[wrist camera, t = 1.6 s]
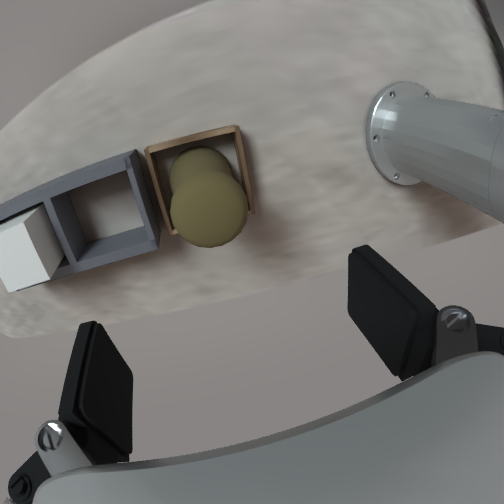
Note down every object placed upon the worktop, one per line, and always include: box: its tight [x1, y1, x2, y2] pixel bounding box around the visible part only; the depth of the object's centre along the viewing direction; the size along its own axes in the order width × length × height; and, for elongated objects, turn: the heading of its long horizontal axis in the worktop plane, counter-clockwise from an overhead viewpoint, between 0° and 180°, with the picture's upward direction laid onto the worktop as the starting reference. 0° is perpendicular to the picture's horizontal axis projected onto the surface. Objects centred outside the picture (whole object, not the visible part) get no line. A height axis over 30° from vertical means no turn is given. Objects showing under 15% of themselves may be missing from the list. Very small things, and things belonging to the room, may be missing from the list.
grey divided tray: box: [0, 149, 161, 291], centre depth 25 cm, size 17×9×4 cm, turn 100°
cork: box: [169, 146, 248, 248], centre depth 23 cm, size 6×6×11 cm
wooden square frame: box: [144, 125, 255, 236], centre depth 27 cm, size 8×8×2 cm
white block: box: [0, 201, 65, 292], centre depth 23 cm, size 6×6×7 cm
